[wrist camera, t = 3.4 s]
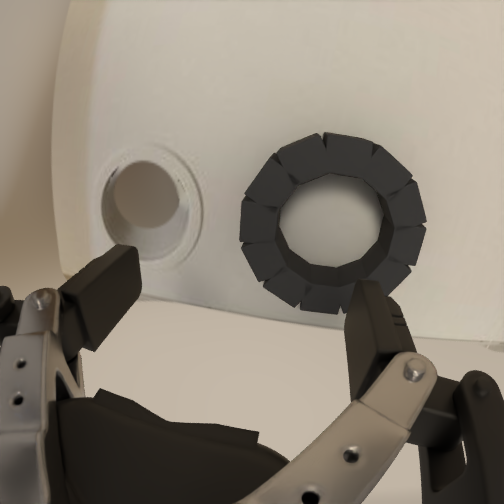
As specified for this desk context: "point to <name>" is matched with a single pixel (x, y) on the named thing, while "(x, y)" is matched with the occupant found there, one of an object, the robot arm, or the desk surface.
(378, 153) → the dark grey segmented ring
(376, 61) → the desk surface
